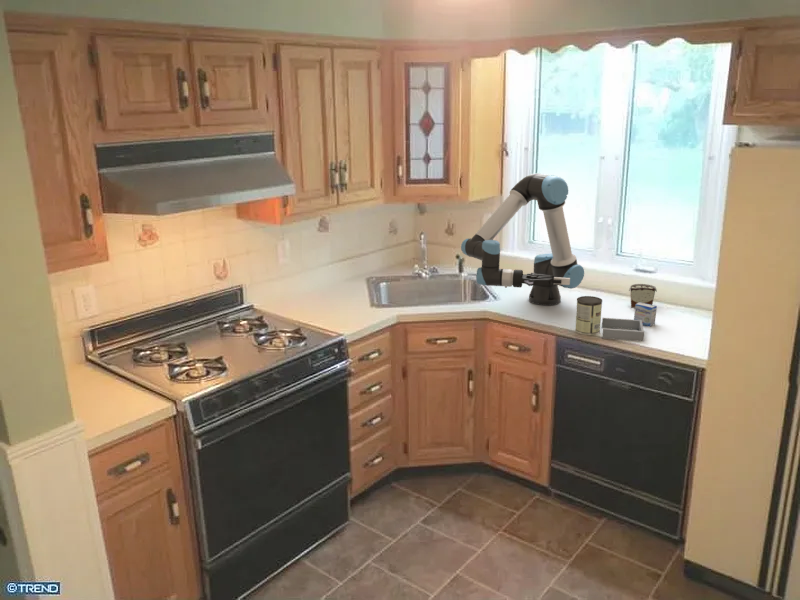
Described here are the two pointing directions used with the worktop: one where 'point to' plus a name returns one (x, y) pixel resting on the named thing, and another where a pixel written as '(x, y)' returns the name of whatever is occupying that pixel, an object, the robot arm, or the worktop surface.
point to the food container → (642, 294)
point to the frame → (623, 325)
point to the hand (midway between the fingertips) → (569, 281)
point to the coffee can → (588, 315)
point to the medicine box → (645, 313)
